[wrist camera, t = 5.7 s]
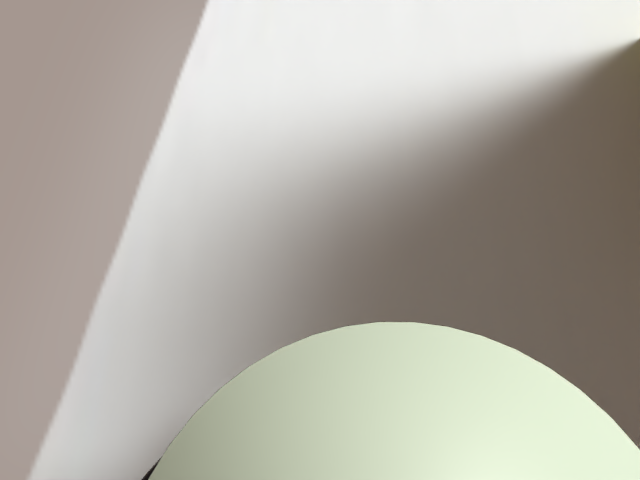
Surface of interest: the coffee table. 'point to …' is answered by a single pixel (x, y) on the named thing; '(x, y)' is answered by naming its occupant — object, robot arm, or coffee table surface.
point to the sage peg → (399, 415)
